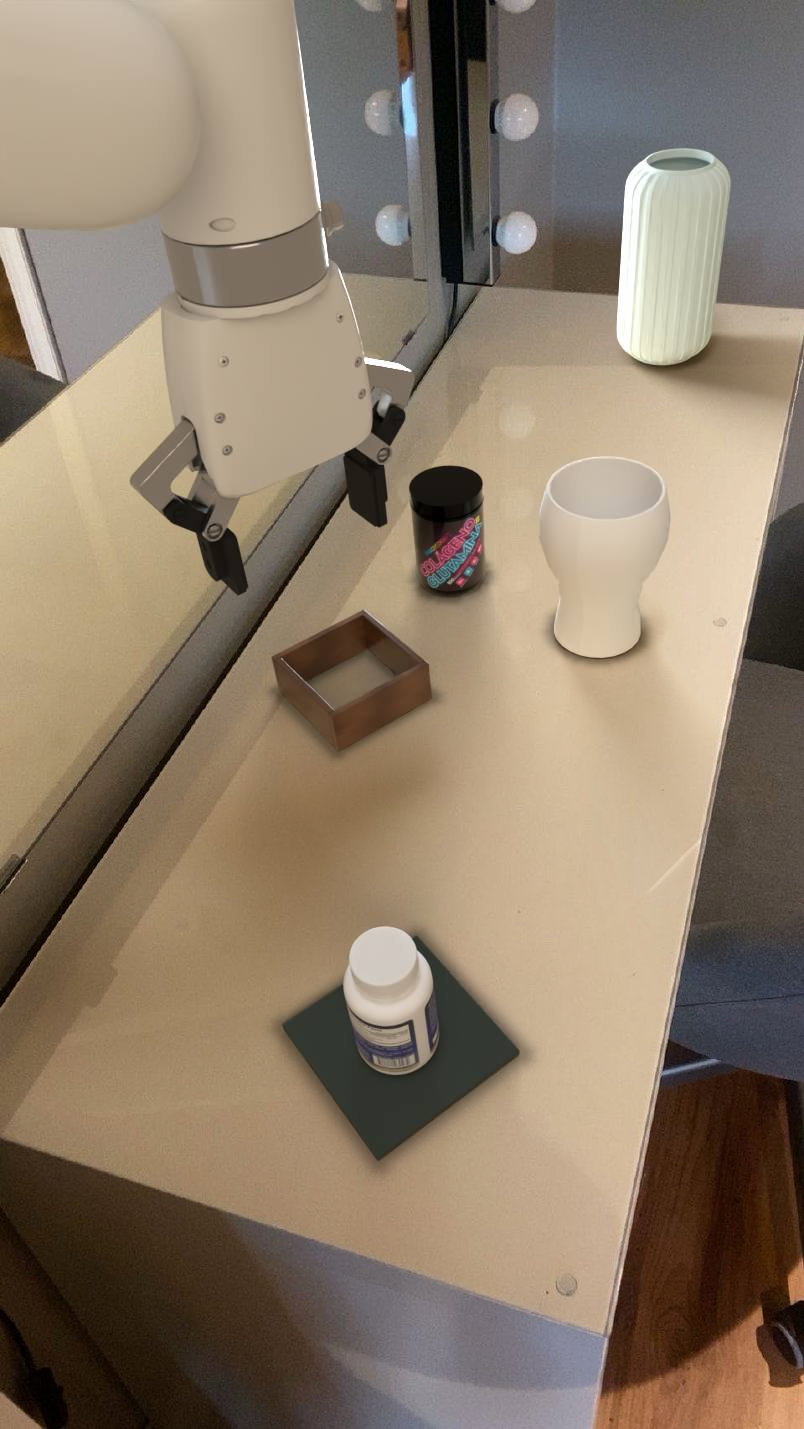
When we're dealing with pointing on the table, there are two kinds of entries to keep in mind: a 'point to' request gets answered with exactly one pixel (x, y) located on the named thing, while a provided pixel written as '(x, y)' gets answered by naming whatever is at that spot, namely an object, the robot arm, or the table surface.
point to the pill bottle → (391, 1001)
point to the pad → (407, 1100)
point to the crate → (372, 705)
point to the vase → (671, 254)
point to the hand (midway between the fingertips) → (301, 549)
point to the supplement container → (448, 529)
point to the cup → (602, 549)
